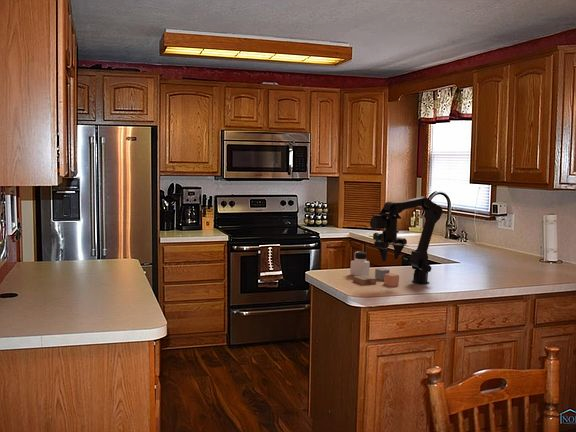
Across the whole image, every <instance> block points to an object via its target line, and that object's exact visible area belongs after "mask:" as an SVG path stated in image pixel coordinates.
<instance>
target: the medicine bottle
mask: <svg viewBox="0 0 576 432" xmlns="http://www.w3.org/2000/svg"><path fill="white" fill-rule="evenodd" d="M367 255H368V253H367V252H365V251H355V252H354V260H351V261H350V270H349V273H350V275H351V276H363V275H367V276H370V265H371V264H370V261H369V260H367Z"/></svg>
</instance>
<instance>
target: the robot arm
mask: <svg viewBox="0 0 576 432" xmlns="http://www.w3.org/2000/svg"><path fill="white" fill-rule="evenodd" d="M418 207H420V208H421V209H422V210H423V211H424V213H423V215H424V225H423V227H422V231H421V235H420V238H419V241H418V245H417V248H416V249H415V250H411V253H410V255H409V263H410V265H411V268H412V270H414V272H413V279H412V280H411V282H412V283H414V284H415V283H416V284H419V285H426V284H430V282H431V281H428V278H429V273H431V271H432V266H431V265H430V264H429V263H428V260H429V256H428V249H429V246H430V243H431V240H432V237H433V236H432V235H433V232H434V229H435V226H436V224H437V222H439V220H440V219H441V217H442V215H443V208H442V206H441V205H438V203H436V202H434V201H432V200H431V199H430V198H428V197H426V196H418V197H415V198H410V199H406V200H402V201H401V200H400V201H386V202H385V203H384V204H383V207H382V208H381V211H380V212H379V214H372V217H371V218H370V221H369V226H370V228H371V229H372V230H382V233H379V232H373V233H372V239H373V240H374V242H373V247H374V248H375V249H377V250H378V251H379V253H380V257H381V260H382V262H383V263H384V262H386V261H387V257H388V253H389V249H390V248H389V247H390V246H391V245H392V247H393V248H394V251H393V252H394V254H393V255H394V256H393V257H394V260H398V259H399V256H400V255H401V252H402V251H403V249H404V247H405V246H406V245H407V243H408V241H407V239H406V238H405V237H398V234H399V233H400V231H399V230H398V220H401V219H402V216H401V215H400V214H401V213H402V212H403V211H405V210H409V209H413V208H418ZM383 229H384V230H383Z"/></svg>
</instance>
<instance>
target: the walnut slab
mask: <svg viewBox="0 0 576 432" xmlns="http://www.w3.org/2000/svg"><path fill="white" fill-rule="evenodd" d="M352 276H353V278H352V282H354V283H357V284H359V285H362V286H367V285H376V284H377V280H378V279H377V278H375V276H370V275H363V276H355V275H352Z"/></svg>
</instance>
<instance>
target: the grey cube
mask: <svg viewBox="0 0 576 432" xmlns="http://www.w3.org/2000/svg"><path fill="white" fill-rule="evenodd" d="M389 273H390V269H387V268H384V267H380V268H375V271H374V278H377V279H376V280H380V281H384V274H389Z"/></svg>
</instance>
